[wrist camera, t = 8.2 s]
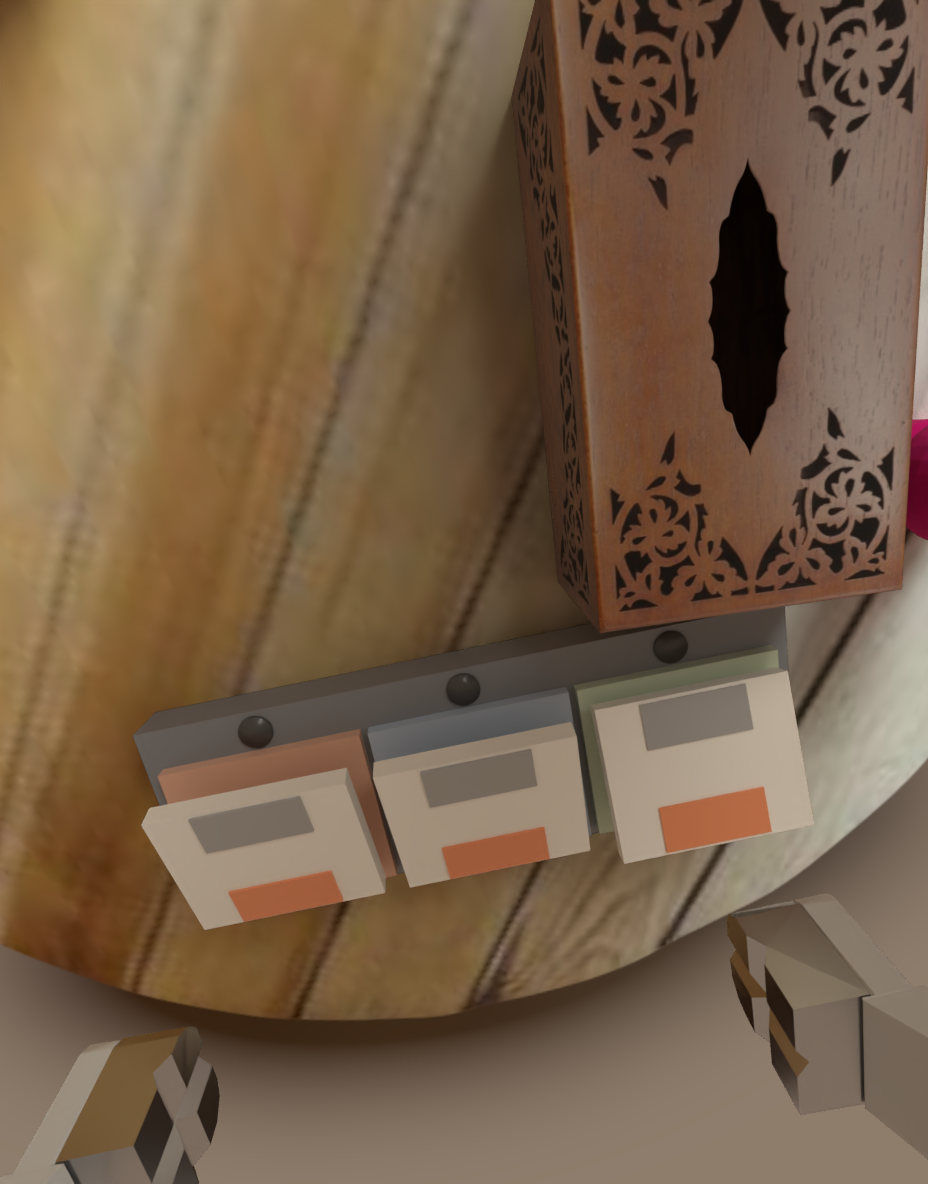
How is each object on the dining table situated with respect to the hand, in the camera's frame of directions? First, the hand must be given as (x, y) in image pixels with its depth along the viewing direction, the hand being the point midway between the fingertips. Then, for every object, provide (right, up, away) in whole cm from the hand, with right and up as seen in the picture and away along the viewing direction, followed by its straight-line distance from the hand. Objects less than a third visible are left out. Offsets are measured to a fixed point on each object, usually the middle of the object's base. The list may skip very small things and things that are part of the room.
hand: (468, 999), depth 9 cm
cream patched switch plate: (-11, -9, +26) cm, 29 cm away
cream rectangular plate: (+1, -6, +26) cm, 27 cm away
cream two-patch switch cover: (+13, -4, +26) cm, 29 cm away
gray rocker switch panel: (+1, -4, +31) cm, 31 cm away
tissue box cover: (+11, +20, +26) cm, 35 cm away
